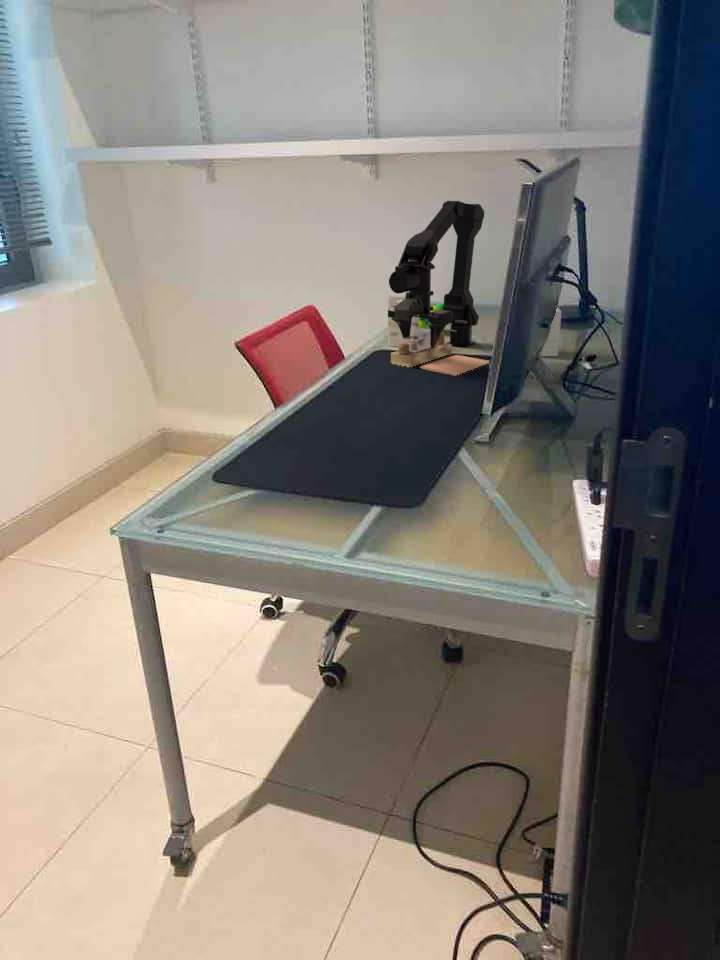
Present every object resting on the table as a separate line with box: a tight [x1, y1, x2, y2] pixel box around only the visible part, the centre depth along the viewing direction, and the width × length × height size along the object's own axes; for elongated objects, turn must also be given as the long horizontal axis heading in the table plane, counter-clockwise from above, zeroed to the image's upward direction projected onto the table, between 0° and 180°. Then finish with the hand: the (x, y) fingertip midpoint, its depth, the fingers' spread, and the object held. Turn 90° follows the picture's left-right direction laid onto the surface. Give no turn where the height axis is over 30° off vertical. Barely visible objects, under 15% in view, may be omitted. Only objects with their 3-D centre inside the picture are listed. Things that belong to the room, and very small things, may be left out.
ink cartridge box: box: [387, 295, 419, 347], centre depth 226 cm, size 9×5×15 cm, turn 68°
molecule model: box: [419, 302, 447, 331], centre depth 243 cm, size 9×9×9 cm
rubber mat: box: [419, 354, 490, 377], centre depth 205 cm, size 16×12×1 cm
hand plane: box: [390, 331, 452, 368], centre depth 211 cm, size 18×7×6 cm, turn 137°
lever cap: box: [403, 328, 436, 351], centre depth 209 cm, size 8×5×4 cm, turn 137°
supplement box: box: [541, 306, 562, 357], centre depth 212 cm, size 7×7×13 cm
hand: (419, 345), depth 210 cm, fingers open, 9 cm apart
